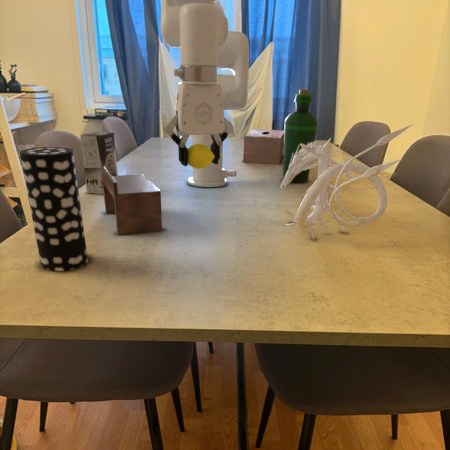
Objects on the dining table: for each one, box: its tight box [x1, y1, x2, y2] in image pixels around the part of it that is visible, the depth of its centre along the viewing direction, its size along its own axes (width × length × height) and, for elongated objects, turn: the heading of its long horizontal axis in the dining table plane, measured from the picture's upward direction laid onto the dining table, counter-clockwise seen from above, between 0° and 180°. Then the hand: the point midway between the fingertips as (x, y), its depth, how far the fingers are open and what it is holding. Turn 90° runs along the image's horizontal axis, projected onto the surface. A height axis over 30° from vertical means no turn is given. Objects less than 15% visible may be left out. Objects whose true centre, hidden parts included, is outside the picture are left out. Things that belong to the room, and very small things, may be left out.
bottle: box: [282, 88, 319, 184], centre depth 140 cm, size 11×11×28 cm
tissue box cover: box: [242, 128, 284, 165], centre depth 183 cm, size 26×14×10 cm, turn 169°
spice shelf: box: [101, 166, 163, 236], centre depth 101 cm, size 10×18×11 cm, turn 22°
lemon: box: [187, 144, 215, 169], centre depth 97 cm, size 7×5×5 cm
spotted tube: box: [19, 146, 89, 272], centre depth 76 cm, size 8×8×20 cm
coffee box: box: [79, 131, 119, 195], centre depth 125 cm, size 9×6×16 cm
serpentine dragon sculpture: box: [279, 123, 413, 241], centre depth 93 cm, size 45×21×26 cm, turn 4°
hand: (199, 163), depth 98 cm, fingers closed on lemon, 6 cm apart
